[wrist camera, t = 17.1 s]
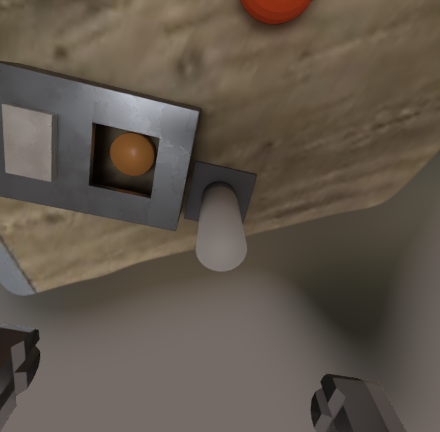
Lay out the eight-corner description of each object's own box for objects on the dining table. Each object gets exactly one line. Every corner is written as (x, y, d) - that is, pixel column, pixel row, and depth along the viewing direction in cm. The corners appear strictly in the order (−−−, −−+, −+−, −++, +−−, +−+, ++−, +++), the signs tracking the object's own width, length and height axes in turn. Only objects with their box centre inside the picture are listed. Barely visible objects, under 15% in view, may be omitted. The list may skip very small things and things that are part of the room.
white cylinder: (240, 185, 33) (253, 232, 22) (231, 216, 35) (239, 275, 24) (206, 177, 33) (201, 221, 22) (198, 209, 35) (191, 266, 24)
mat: (256, 174, 33) (256, 175, 33) (240, 228, 36) (240, 230, 36) (195, 160, 33) (195, 161, 32) (184, 217, 35) (183, 218, 35)
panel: (201, 108, 30) (198, 112, 25) (180, 212, 35) (174, 235, 30) (19, 63, 29) (-28, 57, 23) (22, 180, 33) (-16, 198, 28)
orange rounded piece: (158, 136, 31) (156, 139, 30) (152, 176, 33) (150, 179, 32) (116, 127, 31) (112, 128, 29) (113, 167, 32) (108, 170, 31)
